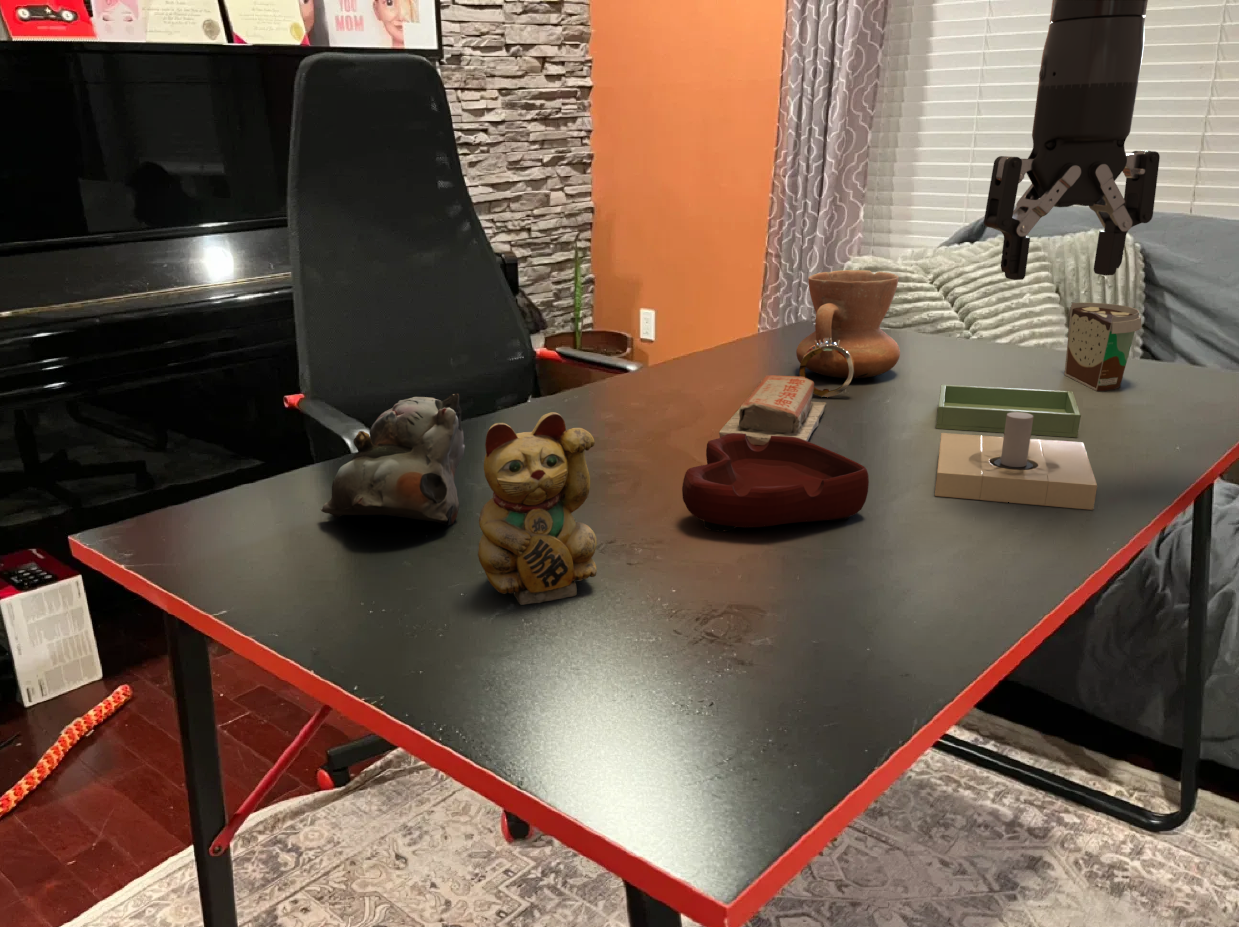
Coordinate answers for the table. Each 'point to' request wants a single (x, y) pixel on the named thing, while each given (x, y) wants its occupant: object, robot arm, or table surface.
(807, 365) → the ceramic jug
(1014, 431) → the plug
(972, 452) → the sink deck
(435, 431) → the lucky cat figurine
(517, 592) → the decorative figurine
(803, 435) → the packaged product
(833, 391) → the ring
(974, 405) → the tray
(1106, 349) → the food container
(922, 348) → the table surface
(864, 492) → the ashtray
